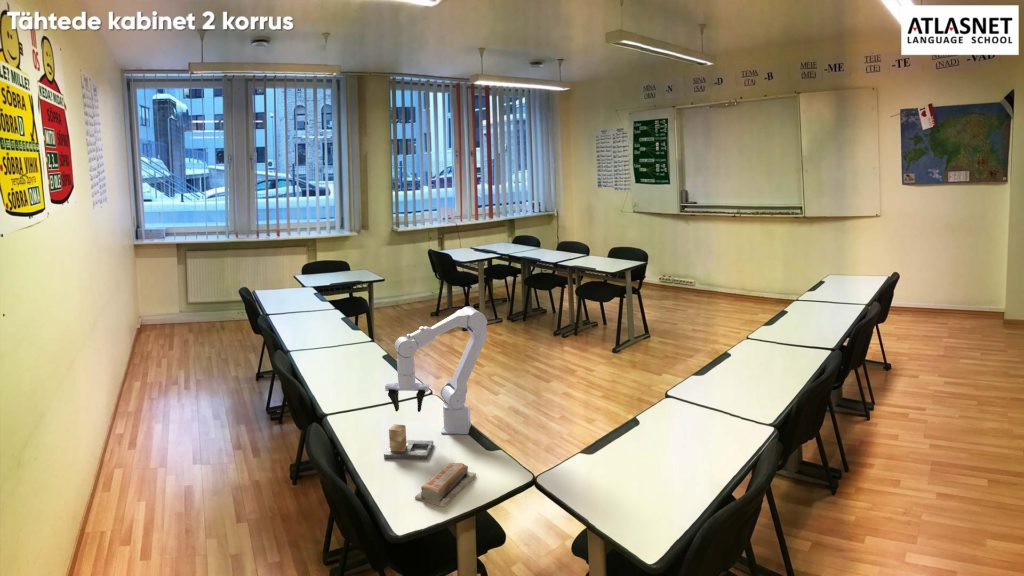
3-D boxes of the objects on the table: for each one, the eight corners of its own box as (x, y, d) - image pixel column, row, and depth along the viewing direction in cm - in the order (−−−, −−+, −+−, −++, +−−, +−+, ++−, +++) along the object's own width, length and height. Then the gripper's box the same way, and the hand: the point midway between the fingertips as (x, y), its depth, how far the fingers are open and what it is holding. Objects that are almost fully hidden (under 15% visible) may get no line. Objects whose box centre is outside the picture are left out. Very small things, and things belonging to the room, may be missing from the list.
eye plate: (433, 444, 200) (433, 440, 199) (427, 459, 190) (426, 455, 189) (392, 443, 201) (392, 439, 200) (384, 458, 191) (383, 454, 191)
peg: (406, 444, 196) (405, 425, 195) (401, 450, 193) (400, 430, 191) (395, 443, 197) (394, 424, 196) (390, 449, 194) (388, 429, 192)
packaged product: (443, 493, 163) (413, 485, 167) (444, 509, 164) (414, 500, 168) (476, 463, 179) (447, 456, 183) (476, 477, 180) (448, 470, 184)
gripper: (430, 368, 202) (431, 406, 205) (388, 368, 203) (390, 405, 206) (425, 376, 195) (427, 414, 198) (382, 375, 197) (384, 413, 199)
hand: (408, 410), depth 202 cm, fingers open, 7 cm apart
